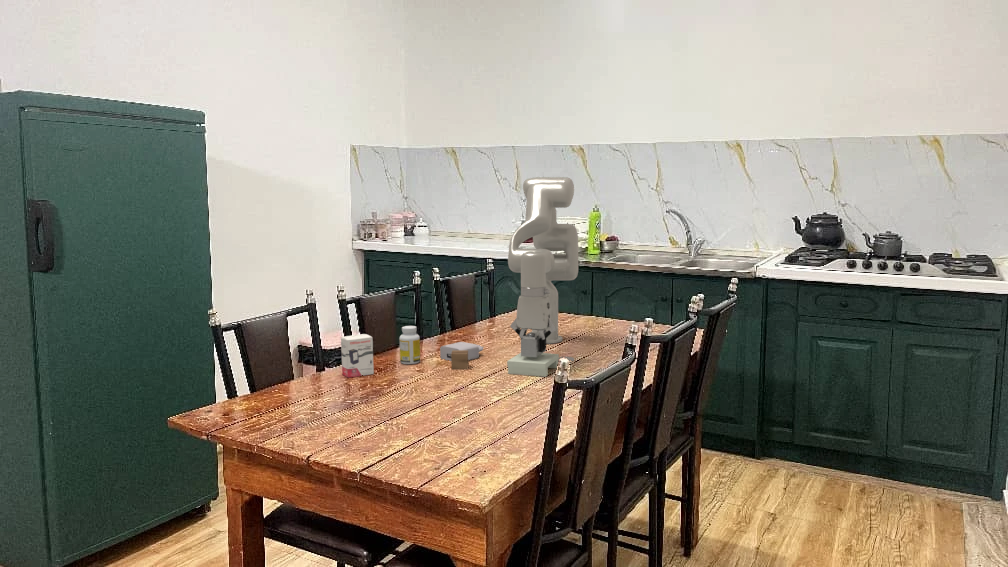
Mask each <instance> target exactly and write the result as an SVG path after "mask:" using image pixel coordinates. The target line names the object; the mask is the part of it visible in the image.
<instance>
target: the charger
mask: <svg viewBox="0 0 1008 567" xmlns="http://www.w3.org/2000/svg"><path fill="white" fill-rule="evenodd" d="M457 350H468V361H472V360H475V359H479V357H480V352H482V351H484V346H481V345H480V344H476V343H472V342H471V343H470V342H465V341H458V342H454V343H450V344H446V345H441V346H440V348H439V352H440V353H439V355H440V356H439V357H440V359H441V360H443V359H445V360H444V361H448V360H449V361H448V362H451V353H452V351H457Z"/></svg>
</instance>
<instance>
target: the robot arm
mask: <svg viewBox="0 0 1008 567" xmlns="http://www.w3.org/2000/svg"><path fill="white" fill-rule="evenodd" d="M522 189H523V191H522V192H523V194H524V196H525V198H526V206H525V217H524V218H525V219H524V221H523V223H521V224H520V225H519V226H518V227H517V228H516V229H515V231H514V232H513V234H512V235H511V237H510V240H509V245H508V255H507V256H508V257H507V264H508V265H507V266H508V268H509V269H510V271H512V272H513V273H518V274H519V273H520V295H519V296H518V300H517V307H516V317H515V319H514V320H513V321H512V323H511V324H510V328H511V329H512V330H513V331H515V333H516V334H517V335H518V337H519V339H520V340H521V339H522V338H523V336H525V335H526V334H528V333H527V332H528V330H531V332H540V335H541V339H540V352H543V351H545V349H546V350H547V345H548V344H557V343H561V342H562V341H563V336H561V335H559V291H558V290H557V288H556V286H555V285H554V284H553V282H552V281H574V280H575V279H576V278H577V277H578V275H579V274H578V273H579V236H578V234H579V233H578V229H577V227H576V226H575V225H574V224H572V223H558V221H557V209H556V208H558V209H566V208H569V207H570V206H571V204H572V203H573V198H574V194H575V184H574V181H573V179H571V178H570V177H564V176H563V177H560V176H558V177H554V176H553V177H549V176H547V177H546V176H543V177H542V176H541V177H539V176H538V177H530V178H526V179H525V180H523V184H522ZM531 238H532V242H533V247H534V248H520V246H521V244H523V242H525V241H527V240H528V239H531ZM552 251H555V252H556V251H562V252H564V253H552ZM545 352H546V351H545Z"/></svg>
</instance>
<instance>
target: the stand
mask: <svg viewBox="0 0 1008 567" xmlns="http://www.w3.org/2000/svg"><path fill="white" fill-rule="evenodd" d="M559 354H560V353H551V352H544V353H542V354H541V355H539V356H538V357H526V356H521V352H520V353H518V354H516V355H515V356H513V357H512V358H510V359H508V360H507V362H506V363H507V364H506V365H507V374H509V375H522V376H532V377H542V378H543V377H545V378H546V377H547V376H548V375H549V374H548V372H549V370H548V369H549V368H550V369H557V364H558V365H559V358H560V357H559Z"/></svg>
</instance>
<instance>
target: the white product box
mask: <svg viewBox="0 0 1008 567" xmlns="http://www.w3.org/2000/svg"><path fill="white" fill-rule="evenodd" d="M340 346H341V347H340V349H341V350H340V352H341V368H342V369H341V371H342V373H341V374H342V376H344V377H346V378H348V379H349V378H355V377H360V376H361V377H362V375H363V376H367V375H368V376H369V375H374V374H375V372H374V349H373V348H374V341H373V336H371V335H369V334H367V333H362V334H354V335H346V336H342V337H340Z"/></svg>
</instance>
